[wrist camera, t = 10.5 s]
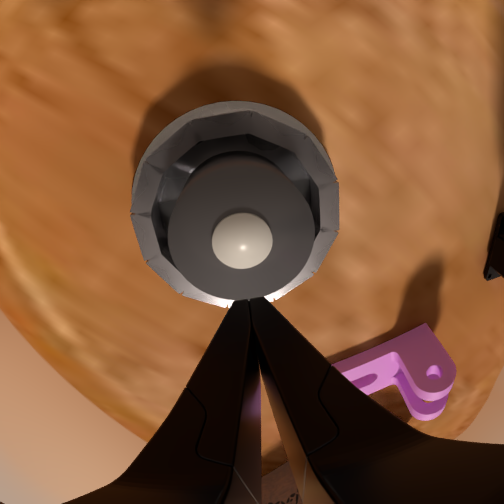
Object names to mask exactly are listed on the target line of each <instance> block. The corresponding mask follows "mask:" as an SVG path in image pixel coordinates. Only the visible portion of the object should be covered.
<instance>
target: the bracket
mask: <svg viewBox="0 0 504 504" xmlns="http://www.w3.org/2000/svg"><path fill="white" fill-rule="evenodd" d="M332 366H334V367H335V368H336V369H337V370H339V371H340V372H341V373H342V374H343V375H344V376H345V377H346V378H347V379H348V380H349V381H350V382H351V383H353V384H354V385H355V386H356V387H357V388H358V389H360V390H361V391H362V392H364V393H365V394H366V395H369V394H371V393H373V392H376V391H378V390H380V389H383V388H385V387H387V386H389V385H392V384H394V385H397V387H398V389H399V391H400V393H401V395H402V397H403V399H404V401H405V403H406V405H407V407H408V409H409V411H410V413H411V414H412V416H413V417H415V418H416V419H418V420H423V421H427V420H432V419H434V418H436V417H437V416H439V415H440V414H441V413H442V411H443V410H444V407H445V405H446V402H447V399H448V393H449V391H450V390H451V388H452V385H453V382H454V379H455V376H456V366H455V364H454V362H453V360H452V359H451V357H450V356H449V355H448V353H447V352H446V350H445V349H444V347H443V346H442V344H441V343H440V342H439V340H438V339H437V337H436V336H435V335H434V333H433V332H432V330H431V329H430V328H429V326H428V325H427V324H426V323H424V324H422V325H420V326H418V327H416V328H414V329H412V330H410V331H408V332H406V333H404V334H402V335H400V336H398V337H395V338H393V339H391V340H389V341H387V342H385V343H382V344H380V345H378V346H376V347H373V348H371V349H369V350H366V351H364V352H361V353H359V354H357V355H354V356H352V357H349V358H347V359H344V360H342V361H339V362H336V363H334V364H332ZM422 399H423V400H426V401H433V402H431V403H425V402H424V401H423V400H422Z"/></svg>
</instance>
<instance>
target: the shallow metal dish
mask: <svg viewBox="0 0 504 504" xmlns="http://www.w3.org/2000/svg"><path fill="white" fill-rule="evenodd" d="M228 151H248V152H253V153H256V154H259V155H262V156H264V157H266V158H268V159H269V160H271V161H272V162H274V163H275V164H276V165H277V166H278V167H279V168H280V169H281V170H282V171H283V172H284V174H285V175H286V176H287V177H288V178H289V179H290V181H291V182H292V183H293V184H294V185H295V187H296V188H297V189H298V190H299V191H300V193H301V194H302V195H303V196H304V198H305V200H306V201H307V203H308V205H309V207H310V210H311V212H312V216H313V219H314V226H315V238H314V244H313V248H312V251H311V255H310V257H309V259H308V261H307V263H306V264H305V266H304V268H303V269H302V270H301V272H300V273H299V274H298V275H297V276H296V277H295V278H294V279H293V280H292V281H291V282H290V283H289V284H287V285H286V286H285V287H283V288H281V289H280V290H278V291H276V292H274V293H272V294H270V295H267V296H264V297H265V298H266V299H267V300H268V301H269V302H271V301H273V297H274V298H275V299H276V300H277V299H279V298H280V297H282V296H283V295H285V294H286V293H288V292H289V291H291V290H292V289H294V288H295V287H297V286H298V285H300V284H301V283H303V282H304V281H306V280H307V279H309V278H310V277H312V276H313V275H314V274H313V272H317V270H318V268H319V267H320V265H321V263H322V261H323V260H324V258H325V256H326V254H327V253H328V251H329V249H330V247H331V245H332V244H333V242H334V240H335V238H336V236H337V235H338V232H337V231H336V230H339V182H337V181H336V180H337V178H336V176H335V173H334V169H333V167H332V164H331V161H330V159H329V157H328V155H327V153H326V151H325V149H324V148H323V146H322V145H321V143H320V142H319V141H318V139H317V138H316V137H315V135H314V134H313V133H312V132H311V131H310V130H309V129H308V128H307V127H305V126H304V125H303V124H302V123H301V122H299V121H298V120H296V119H295V118H294V117H292V116H290V115H288V114H287V113H285V112H283V111H281V110H279V109H276V108H273V107H270V106H268V105H265V104H260V103H255V102H248V101H226V102H217V103H213V104H209V105H205V106H202V107H199V108H197V109H194V110H192V111H189V112H188V113H186V114H184V115H182V116H180V117H179V118H177V119H176V120H174V121H173V122H172V123H170V124H169V125H168V126H166V127H165V128H164V129H163V130H162V131H161V132H160V133H159V134H158V135H157V136H156V137H155V138H154V140H153V141H152V142H151V144H150V145H149V147H148V148H147V149H146V151H145V153H144V155H143V157H142V159H141V160H140V163H139V165H138V168H137V171H136V174H135V178H134V183H133V188H132V206H131V210H130V212H131V213H132V214H131V215H130V217H131V220H132V223H133V227H134V230H135V233H136V237H137V240H138V243H139V246H140V249H141V252H142V255H143V258H144V261H145V260H147V262H146V264H147V265H148V266H149V267H151V268H152V269H153V270H154V271H155V272H156V273H157V274H158V275H159V276H160V277H161V278H162V279H163V280H165V281H166V282H167V283H168V284H169V285H170V286H171V287H172V288H173V289H174V290H176V291H177V292H178V293H179V294H180V293H182V292H183V294H182V296H185V297H189V298H192V299H196V300H199V301H203V302H206V303H210V304H213V305H217V306H221V307H224V308H226V306H227V304H228V307H229V308H230V306H231V305H232V303H233V301H235V300H227V299H222V298H217V297H215V296H212V295H209V294H207V293H205V292H203V291H201V290H199V289H198V288H196V287H195V286H193V285H192V284H191V283H190V282H188V281H187V280H186V279H185V277H184V276H183V275H182V274H181V273H180V271H179V270H178V269H177V267H176V265H175V263H174V261H173V259H172V256H171V254H170V250H169V245H168V226H169V221H170V217H171V214H172V212H173V209H174V207H175V205H176V202H177V200H178V198H179V196H180V194H181V191H182V189H183V187H184V185H185V183H186V181H187V179H188V178H189V176H190V175H191V173H192V172H193V171H194V170H195V169H196V168H197V167H198V166H199V165H200V164H201V163H202V162H204V161H205V160H207V159H209V158H210V157H212V156H215V155H217V154H220V153H224V152H228Z"/></svg>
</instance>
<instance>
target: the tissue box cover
mask: <svg viewBox="0 0 504 504" xmlns="http://www.w3.org/2000/svg"><path fill="white" fill-rule="evenodd" d="M261 501H262V504H303V502H302V500H301V497H300V494H299V491H298V488H297V485H296V482H295V479H294V476H293V473H292V470H291V467H290V464H289V461H288V462H286V463H284V464H283V465H281V466H280V467H278V468H276V469H275V470H273V471H272V472H270V473H268V474H267V475H265V476H263V477H261Z"/></svg>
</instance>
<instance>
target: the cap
mask: <svg viewBox="0 0 504 504" xmlns="http://www.w3.org/2000/svg"><path fill="white" fill-rule="evenodd" d="M314 238H315V226H314V219H313V216H312V212H311V210H310V207H309V205H308V203H307V201H306V200H305V198H304V196H303V195H302V194H301V193H300V191H299V190H298V189H297V188H296V187H295V185H294V184H293V183H292V182H291V181H290V179H289V178H288V177H287V176H286V175H285V174H284V172H283V171H282V170H281V169H280V168H279V167H278V166H277V165H276V164H275V163H274V162H272V161H271V160H269V159H268V158H266V157H264V156H262V155H259V154H256V153H253V152H248V151H228V152H224V153H220V154H217V155H215V156H212V157H210V158H209V159H207V160H205V161H204V162H202V163H201V164H200V165H199V166H198V167H197V168H196V169H195V170H194V171H193V172H192V173H191V175H190V176H189V178H188V179H187V181H186V183H185V185H184V187H183V189H182V191H181V194H180V196H179V198H178V200H177V202H176V205H175V207H174V209H173V212H172V214H171V217H170V221H169V226H168V245H169V250H170V254H171V256H172V259H173V261H174V263H175V265H176V267H177V269H178V270H179V271H180V273H181V274H182V275H183V276H184V277H185V279H186V280H187V281H188V282H190V283H191V284H192V285H193V286H195V287H196V288H198V289H199V290H201V291H203V292H205V293H207V294H209V295H212V296H215V297H217V298H222V299H227V300H240V299H248V300H249V299H250V298H253V297H259V296H263V297H264V296H267V295H270V294H272V293H274V292H276V291H278V290H280V289H281V288H283V287H285V286H286V285H287V284H289V283H290V282H291V281H292V280H293V279H294V278H295V277H296V276H297V275H298V274H299V273H300V272H301V270H302V269H303V268H304V266H305V264H306V263H307V261H308V259H309V257H310V255H311V251H312V248H313V244H314Z"/></svg>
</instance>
